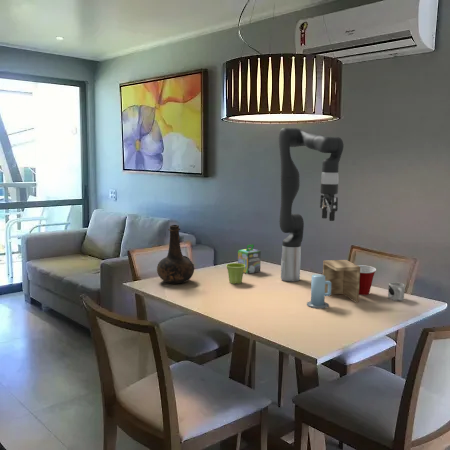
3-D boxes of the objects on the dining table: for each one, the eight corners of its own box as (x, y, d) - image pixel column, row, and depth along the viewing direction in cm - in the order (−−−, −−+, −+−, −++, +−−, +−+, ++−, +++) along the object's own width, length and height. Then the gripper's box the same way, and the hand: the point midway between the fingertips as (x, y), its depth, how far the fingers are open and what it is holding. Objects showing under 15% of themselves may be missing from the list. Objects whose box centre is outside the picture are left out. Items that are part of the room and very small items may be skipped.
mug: (385, 296, 222) (386, 282, 221) (400, 296, 222) (401, 282, 221) (393, 303, 212) (394, 288, 211) (408, 303, 212) (409, 288, 211)
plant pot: (238, 286, 236) (239, 268, 235) (222, 283, 241) (222, 265, 240) (248, 281, 244) (248, 264, 243) (232, 279, 249) (232, 262, 248)
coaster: (308, 308, 203) (308, 307, 203) (305, 302, 212) (305, 300, 212) (330, 308, 203) (330, 307, 203) (326, 302, 212) (326, 300, 212)
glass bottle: (201, 282, 242) (201, 225, 238) (171, 288, 230) (171, 229, 226) (179, 275, 255) (179, 221, 251) (149, 281, 243) (149, 224, 239)
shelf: (334, 303, 211) (336, 267, 209) (322, 293, 225) (323, 260, 223) (358, 302, 213) (360, 266, 211) (344, 292, 227) (345, 259, 225)
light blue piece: (313, 306, 204) (314, 277, 202) (308, 302, 209) (309, 274, 208) (332, 305, 205) (333, 277, 204) (327, 301, 211) (328, 273, 209)
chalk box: (250, 268, 273) (250, 242, 271) (261, 271, 266) (261, 244, 264) (236, 270, 268) (237, 243, 266) (247, 274, 260) (248, 246, 258)
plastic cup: (347, 294, 224) (348, 268, 222) (353, 289, 233) (354, 264, 232) (372, 298, 219) (373, 271, 217) (377, 292, 228) (378, 266, 227)
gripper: (344, 184, 211) (342, 221, 213) (331, 182, 225) (329, 217, 227) (327, 183, 210) (326, 221, 212) (315, 182, 224) (314, 217, 226)
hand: (327, 219), depth 220 cm, fingers open, 8 cm apart
